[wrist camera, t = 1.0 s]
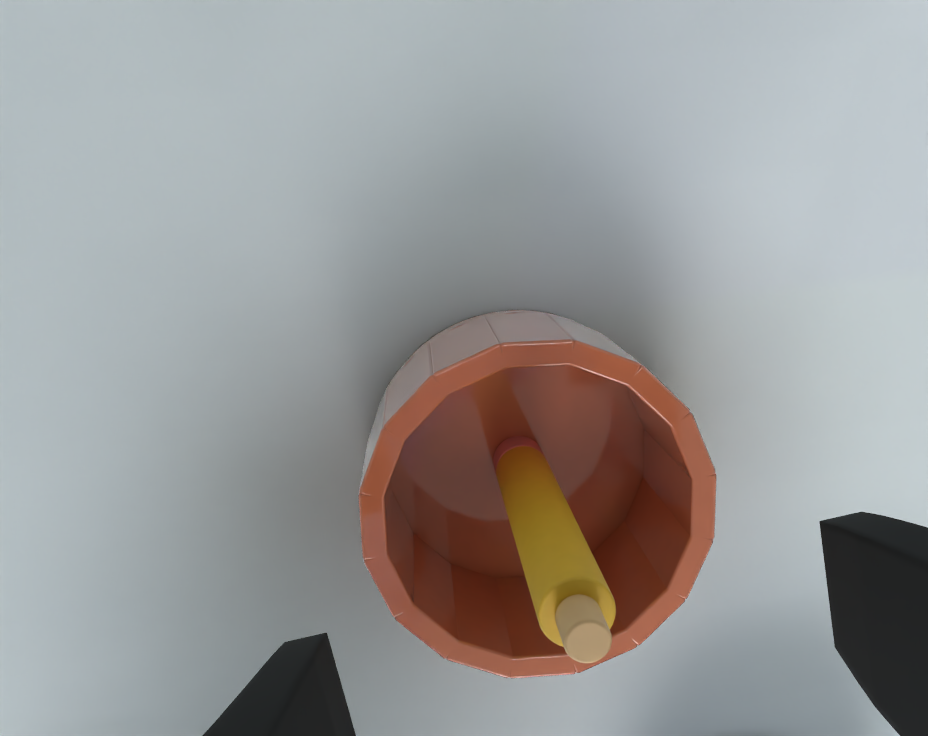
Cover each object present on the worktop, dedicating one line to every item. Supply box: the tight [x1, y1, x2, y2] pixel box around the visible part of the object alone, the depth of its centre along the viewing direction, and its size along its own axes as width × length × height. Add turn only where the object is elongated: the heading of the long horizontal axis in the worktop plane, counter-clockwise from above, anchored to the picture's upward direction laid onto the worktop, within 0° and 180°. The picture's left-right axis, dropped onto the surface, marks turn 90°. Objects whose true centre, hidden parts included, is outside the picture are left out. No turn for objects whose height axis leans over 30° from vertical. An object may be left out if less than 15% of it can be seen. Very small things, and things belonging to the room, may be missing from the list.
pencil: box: [493, 436, 616, 663], centre depth 15 cm, size 1×1×8 cm
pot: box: [358, 310, 716, 678], centre depth 18 cm, size 7×7×4 cm
